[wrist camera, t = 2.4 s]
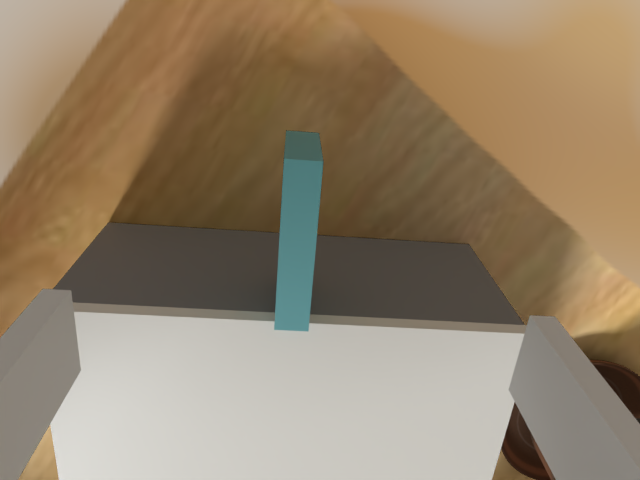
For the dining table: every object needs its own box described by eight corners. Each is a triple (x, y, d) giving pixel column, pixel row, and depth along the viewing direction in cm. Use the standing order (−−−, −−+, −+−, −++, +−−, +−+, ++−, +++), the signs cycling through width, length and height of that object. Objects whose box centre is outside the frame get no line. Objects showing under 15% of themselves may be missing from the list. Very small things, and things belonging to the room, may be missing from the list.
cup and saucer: (671, 374, 42) (729, 431, 37) (586, 478, 47) (625, 544, 41) (542, 328, 40) (582, 382, 34) (465, 443, 44) (489, 507, 39)
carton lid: (94, 487, 36) (65, 560, 31) (49, 112, 26) (-5, 138, 21) (451, 497, 37) (472, 567, 33) (540, 149, 27) (589, 180, 23)
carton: (124, 413, 42) (75, 531, 32) (108, 222, 35) (42, 302, 26) (429, 425, 43) (465, 539, 34) (469, 244, 37) (525, 326, 28)
